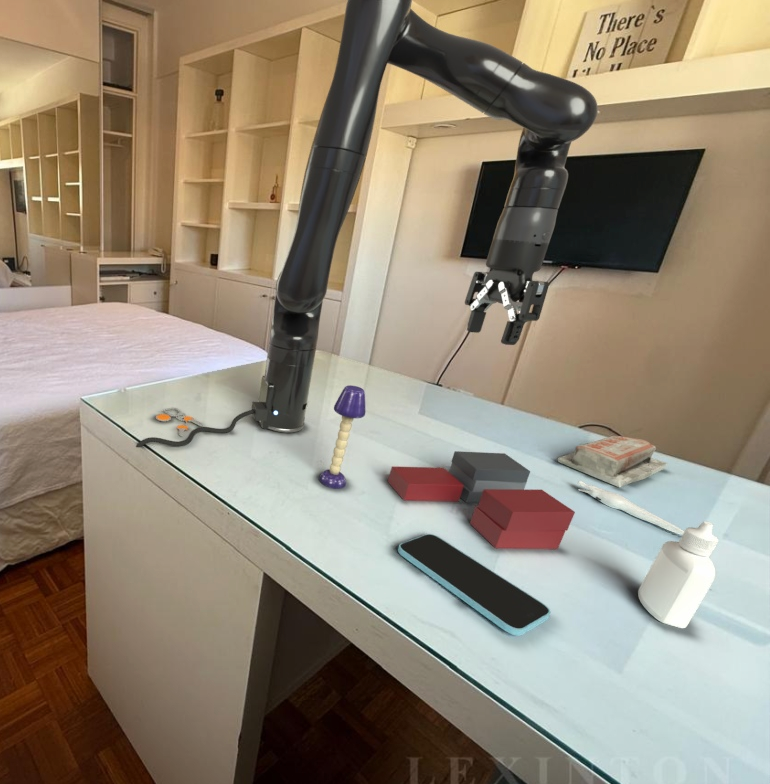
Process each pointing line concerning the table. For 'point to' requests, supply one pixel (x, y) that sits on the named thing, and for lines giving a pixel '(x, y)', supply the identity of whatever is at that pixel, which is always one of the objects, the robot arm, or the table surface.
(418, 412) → the table surface
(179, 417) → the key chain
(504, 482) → the grey book pile
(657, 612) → the eye dropper bottle
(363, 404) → the toy lamp
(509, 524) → the burgundy book stack
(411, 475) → the burgundy paperback
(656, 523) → the white toothbrush
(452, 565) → the smartphone
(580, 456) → the packaged product
